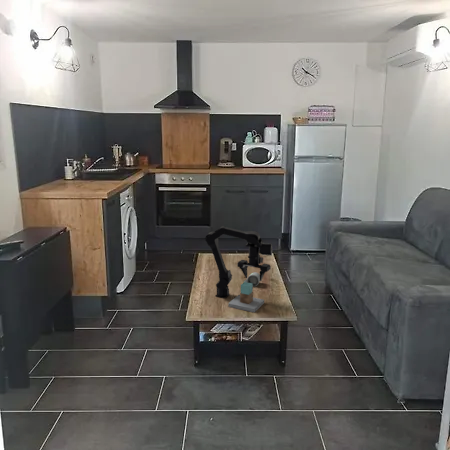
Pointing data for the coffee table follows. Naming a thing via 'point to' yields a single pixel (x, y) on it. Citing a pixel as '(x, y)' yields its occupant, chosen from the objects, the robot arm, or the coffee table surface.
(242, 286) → the teal block
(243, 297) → the walnut block
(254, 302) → the base plate
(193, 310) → the coffee table surface
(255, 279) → the ceramic mug
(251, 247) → the robot arm
